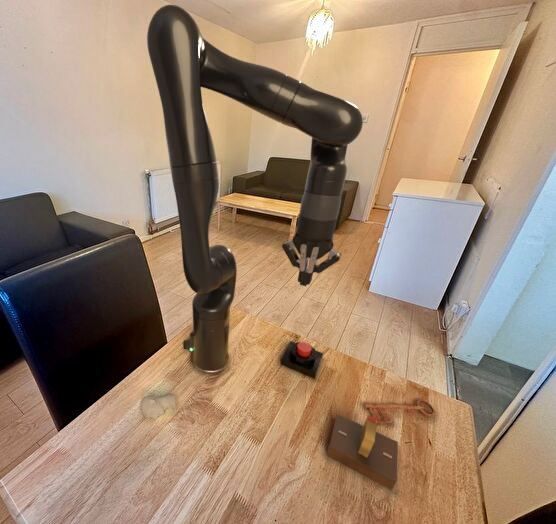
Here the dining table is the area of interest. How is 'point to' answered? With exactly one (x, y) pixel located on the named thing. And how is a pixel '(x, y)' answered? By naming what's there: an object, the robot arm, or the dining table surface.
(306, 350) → the alarm button
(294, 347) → the alarm box
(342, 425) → the lock plate
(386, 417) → the key
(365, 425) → the lock knob
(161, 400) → the pale grey lumpy piece
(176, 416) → the dining table surface
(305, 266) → the robot arm
